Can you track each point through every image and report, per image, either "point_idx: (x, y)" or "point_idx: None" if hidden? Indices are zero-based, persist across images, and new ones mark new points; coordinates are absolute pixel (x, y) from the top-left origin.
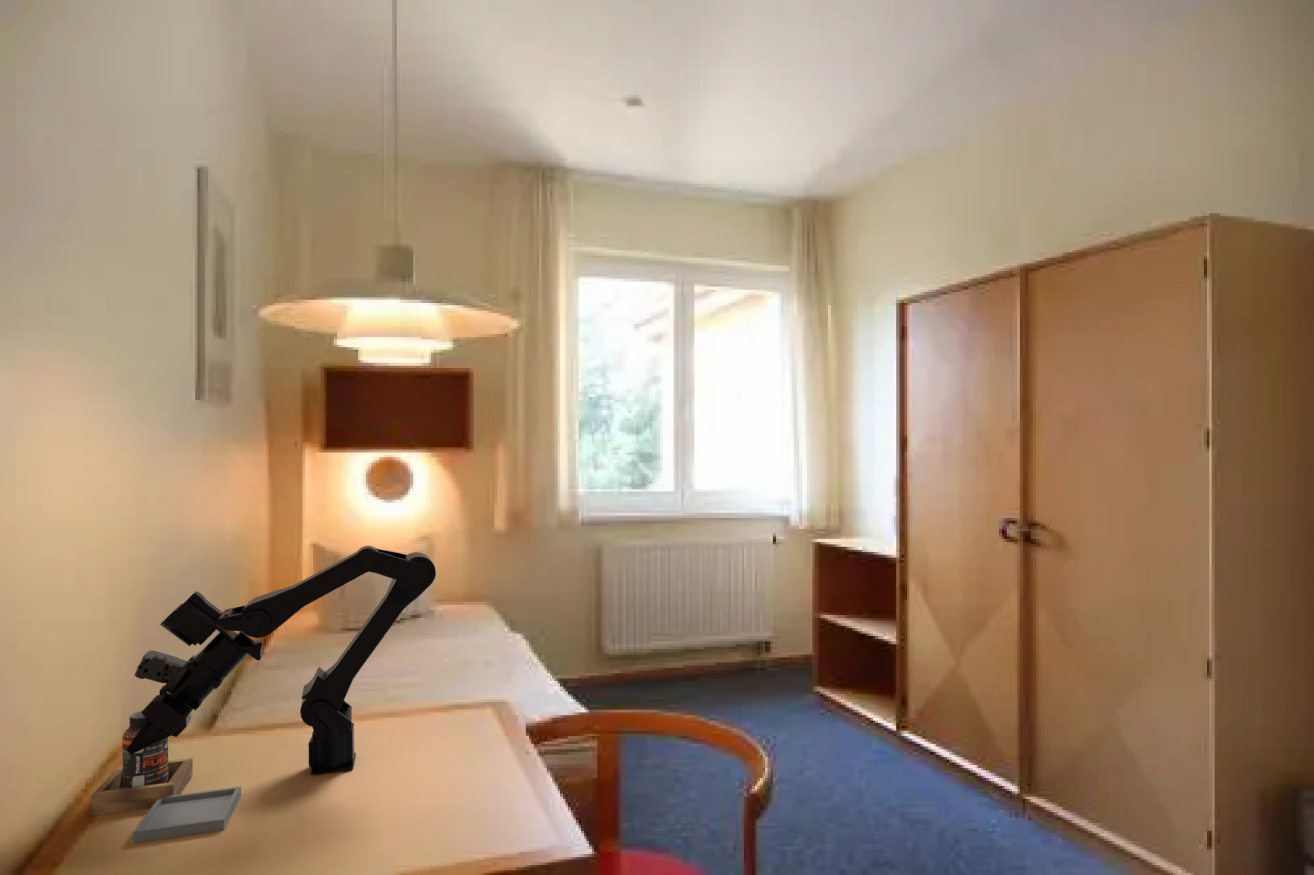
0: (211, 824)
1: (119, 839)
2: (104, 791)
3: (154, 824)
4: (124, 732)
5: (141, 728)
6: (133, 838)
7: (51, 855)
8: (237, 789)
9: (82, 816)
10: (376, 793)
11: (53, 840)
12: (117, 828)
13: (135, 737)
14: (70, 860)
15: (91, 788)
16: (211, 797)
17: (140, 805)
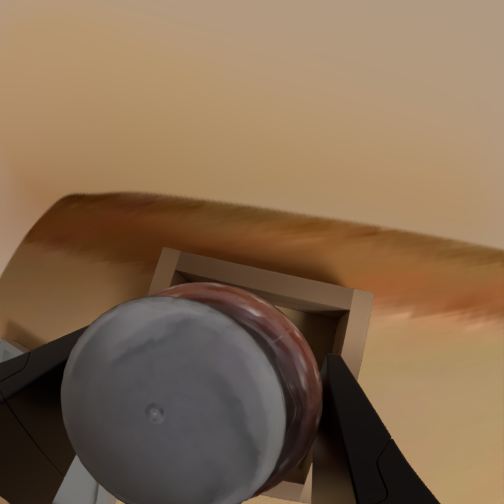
0: None
1: (38, 320)
2: (169, 275)
3: None
4: (190, 287)
5: (6, 362)
6: (8, 339)
7: (54, 222)
8: None
9: (190, 246)
10: None
11: (106, 213)
12: (80, 318)
13: (56, 341)
14: (22, 252)
15: (373, 244)
16: (96, 496)
17: None
